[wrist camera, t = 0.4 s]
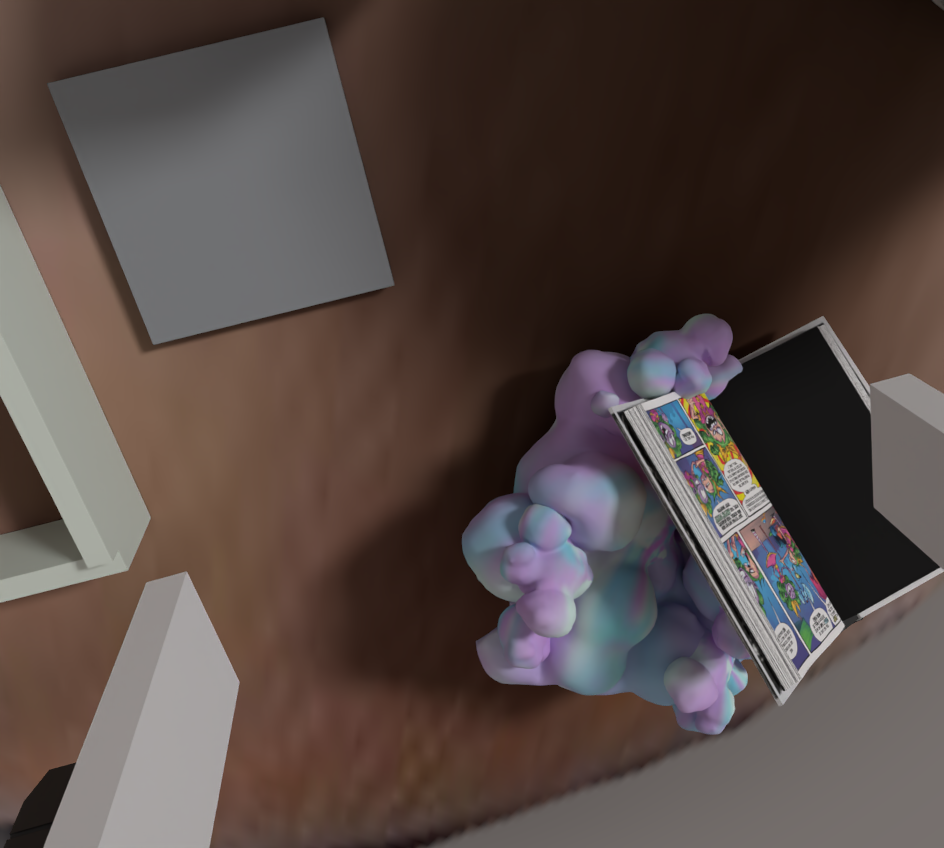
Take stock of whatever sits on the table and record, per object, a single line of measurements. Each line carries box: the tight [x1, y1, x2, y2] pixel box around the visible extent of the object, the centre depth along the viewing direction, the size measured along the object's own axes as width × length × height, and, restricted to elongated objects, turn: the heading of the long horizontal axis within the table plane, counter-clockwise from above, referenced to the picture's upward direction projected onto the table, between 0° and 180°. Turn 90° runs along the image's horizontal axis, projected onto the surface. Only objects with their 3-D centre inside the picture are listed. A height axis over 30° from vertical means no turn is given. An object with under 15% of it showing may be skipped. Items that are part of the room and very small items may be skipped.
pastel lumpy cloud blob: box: [462, 314, 944, 734], centre depth 41 cm, size 20×22×18 cm
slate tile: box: [47, 17, 394, 345], centre depth 38 cm, size 12×12×1 cm
